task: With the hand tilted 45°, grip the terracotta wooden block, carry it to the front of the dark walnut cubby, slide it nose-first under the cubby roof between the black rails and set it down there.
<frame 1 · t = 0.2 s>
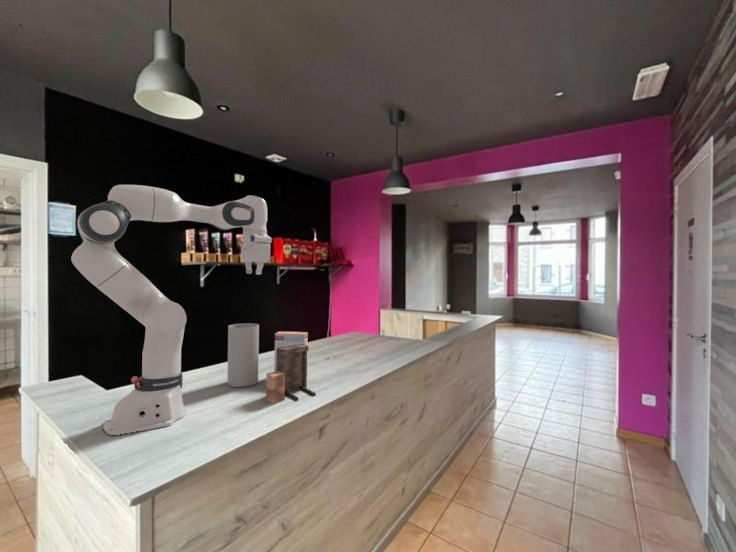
hand: (253, 274, 134), 48 cm above the countertop, tool pointing down, fingers open, 8 cm apart
cracker box: (291, 378, 158), on the countertop
cubby: (298, 393, 138), on the countertop
block: (275, 399, 131), on the countertop
cylinder vase: (242, 383, 149), on the countertop
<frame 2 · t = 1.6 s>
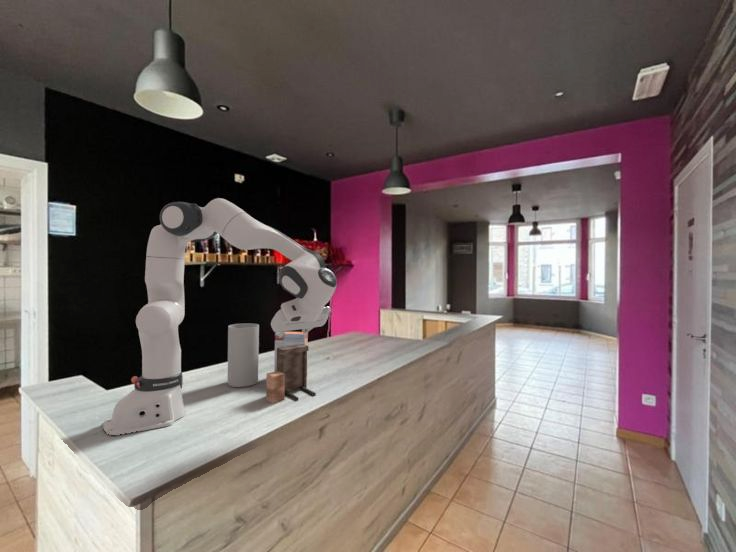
hand: (292, 333, 122), 27 cm above the countertop, tool tilted 45°, fingers open, 8 cm apart
nothing on the countertop moved.
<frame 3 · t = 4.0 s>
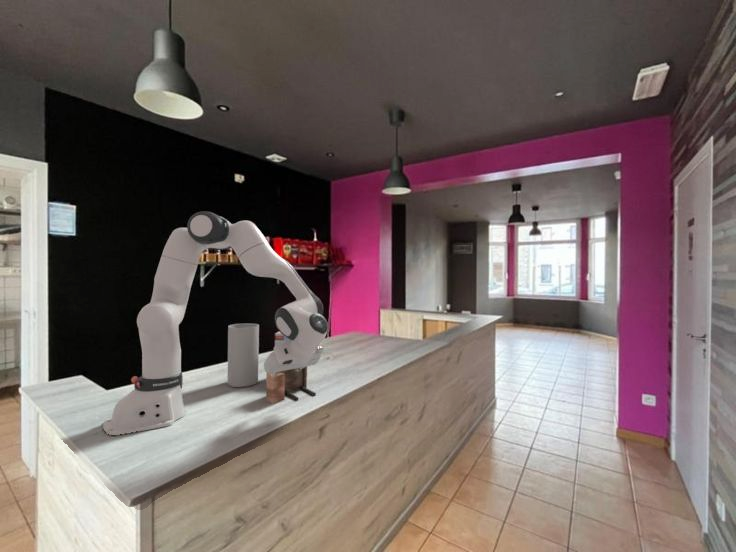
hand: (285, 372, 125), 12 cm above the countertop, tool tilted 45°, fingers open, 8 cm apart
nothing on the countertop moved.
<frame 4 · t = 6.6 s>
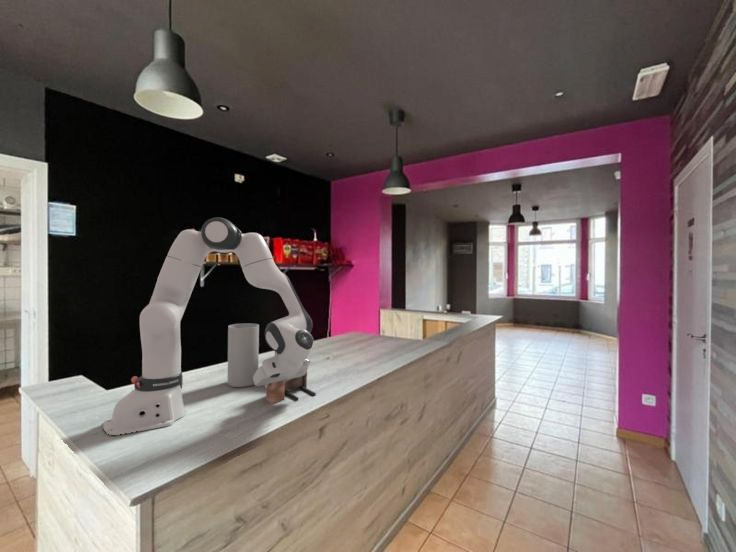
hand: (274, 383, 131), 6 cm above the countertop, tool tilted 45°, fingers closed on block, 5 cm apart
block: (275, 399, 131), on the countertop, touching gripper
everything else where it was.
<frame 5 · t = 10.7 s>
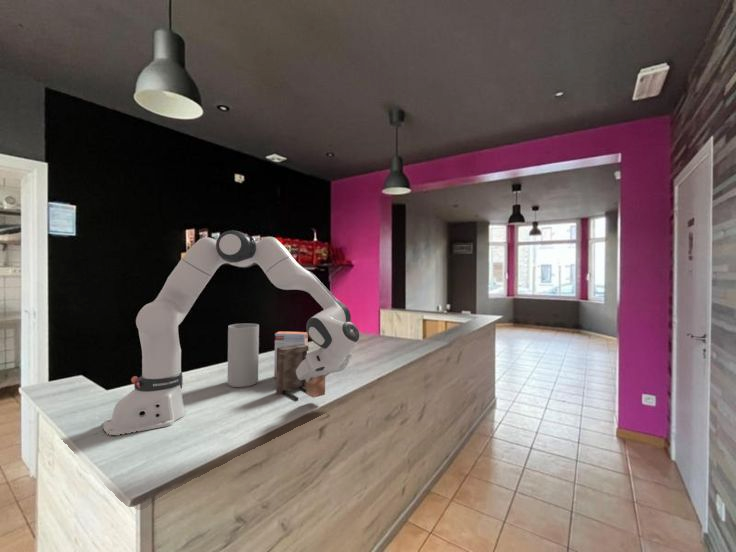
hand: (314, 378, 129), 9 cm above the countertop, tool tilted 45°, fingers closed on block, 5 cm apart
block: (315, 394, 128), point 3 cm above the countertop, touching gripper
everything else where it was.
when the fingers open (7 cm above the countertop, at t = 15.0 s): block drops 1 cm, resting in cubby.
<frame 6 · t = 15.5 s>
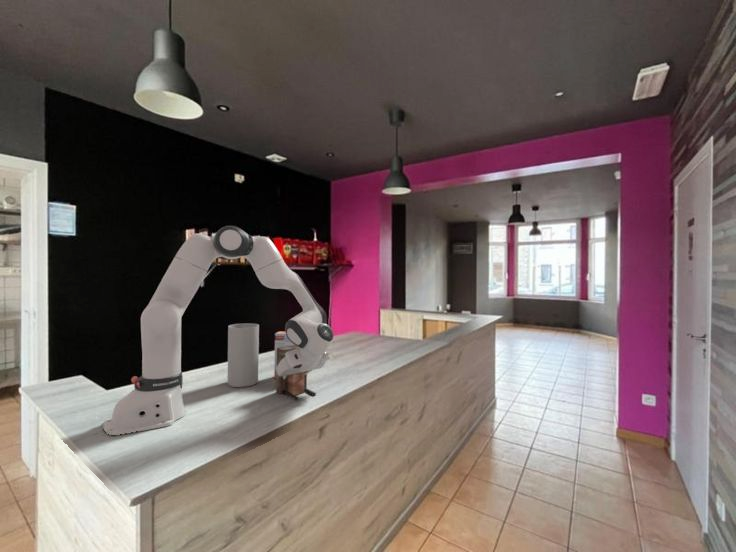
hand: (295, 375, 139), 7 cm above the countertop, tool tilted 45°, fingers open, 8 cm apart
block: (295, 392, 139), resting in cubby
everything else where it was.
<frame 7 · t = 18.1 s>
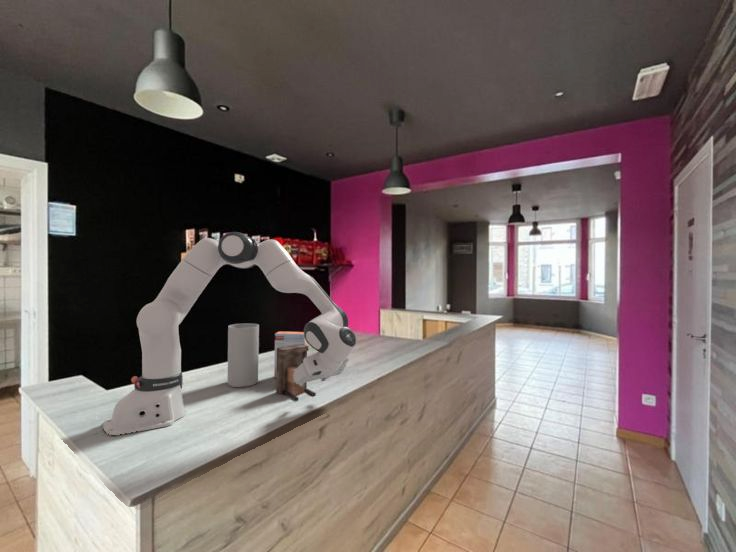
hand: (312, 381, 130), 7 cm above the countertop, tool tilted 45°, fingers open, 8 cm apart
nothing on the countertop moved.
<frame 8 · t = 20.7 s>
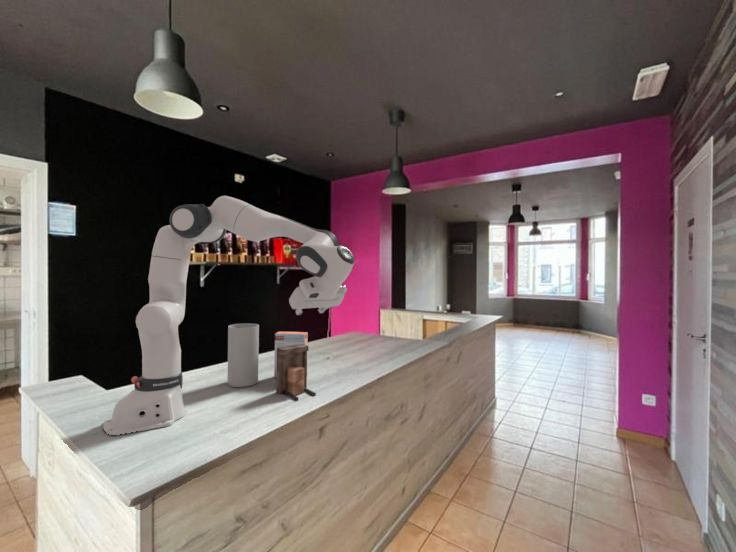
hand: (309, 312, 124), 34 cm above the countertop, tool tilted 45°, fingers open, 8 cm apart
nothing on the countertop moved.
at the end: block 0.1 cm from the target spot, resting in cubby; block tilted 0°; the gripper is holding nothing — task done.
